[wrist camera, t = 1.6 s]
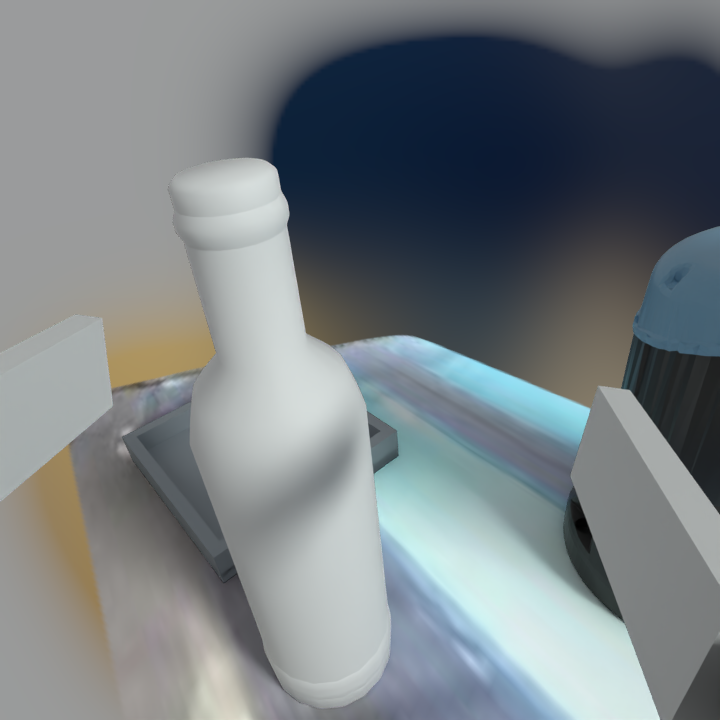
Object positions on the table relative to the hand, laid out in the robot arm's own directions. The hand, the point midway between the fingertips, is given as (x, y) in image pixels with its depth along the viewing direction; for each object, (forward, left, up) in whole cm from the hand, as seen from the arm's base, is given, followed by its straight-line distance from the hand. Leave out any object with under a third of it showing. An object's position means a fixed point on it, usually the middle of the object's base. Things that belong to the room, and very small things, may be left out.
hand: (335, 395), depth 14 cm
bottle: (-2, -7, -26) cm, 27 cm away
